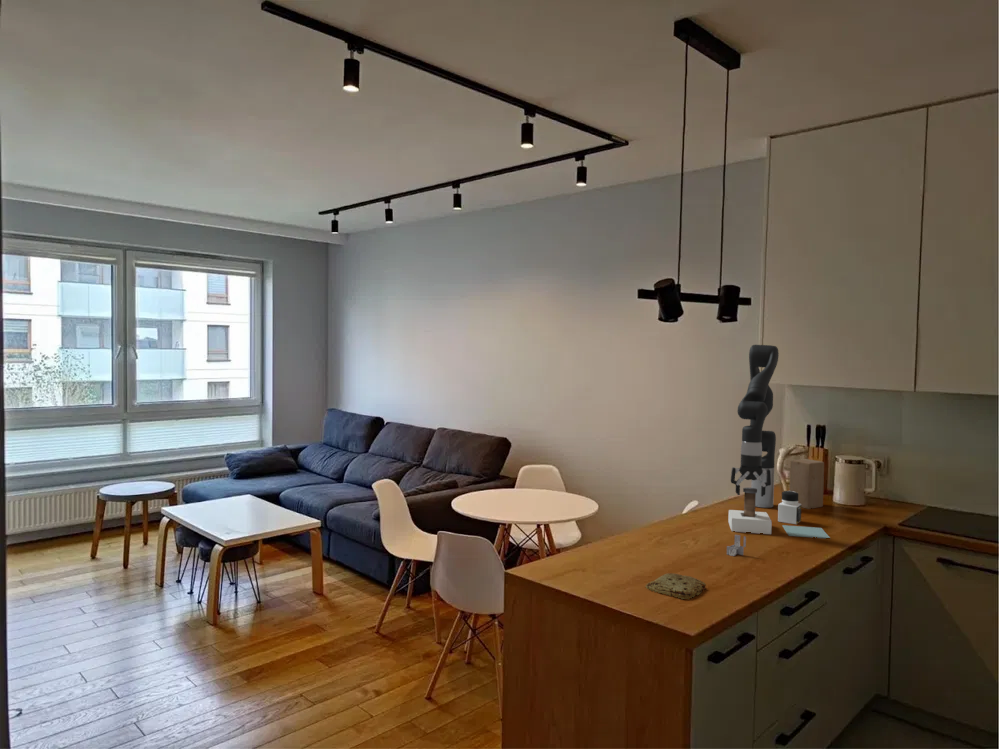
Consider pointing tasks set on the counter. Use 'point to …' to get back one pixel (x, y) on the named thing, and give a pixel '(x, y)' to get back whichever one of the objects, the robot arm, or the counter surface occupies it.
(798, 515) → the medicine bottle
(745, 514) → the pin
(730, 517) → the eye block
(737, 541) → the grey upright blocky piece
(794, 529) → the mat
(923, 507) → the counter surface
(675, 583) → the pastry
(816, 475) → the wooden block
